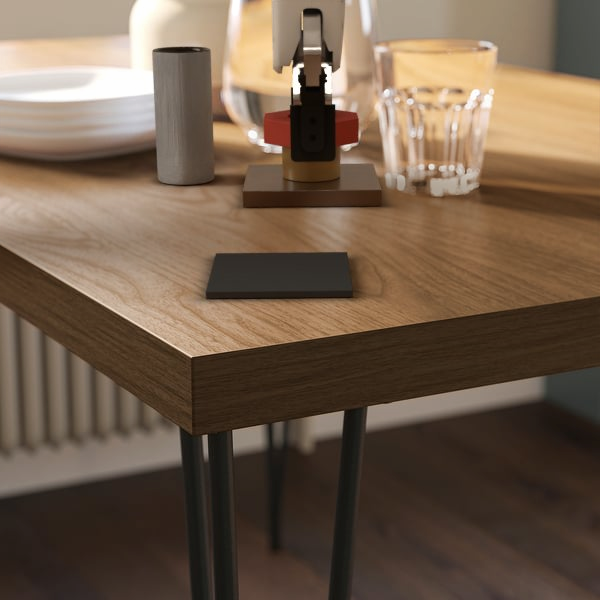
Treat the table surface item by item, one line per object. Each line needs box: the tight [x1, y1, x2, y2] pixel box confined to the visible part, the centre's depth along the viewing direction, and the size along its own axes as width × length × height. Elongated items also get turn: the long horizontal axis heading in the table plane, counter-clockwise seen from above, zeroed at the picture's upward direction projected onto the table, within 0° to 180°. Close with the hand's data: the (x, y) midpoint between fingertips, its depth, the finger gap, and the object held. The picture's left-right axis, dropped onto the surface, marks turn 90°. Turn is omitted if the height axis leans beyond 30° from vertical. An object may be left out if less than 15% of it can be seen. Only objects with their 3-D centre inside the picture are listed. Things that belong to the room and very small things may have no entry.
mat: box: [205, 251, 354, 299], centre depth 68 cm, size 8×8×1 cm
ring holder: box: [242, 146, 383, 208], centre depth 89 cm, size 10×10×7 cm
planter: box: [151, 46, 215, 186], centre depth 93 cm, size 4×4×10 cm
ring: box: [263, 109, 360, 148], centre depth 88 cm, size 7×7×2 cm
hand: (312, 148), depth 89 cm, fingers open, 9 cm apart
